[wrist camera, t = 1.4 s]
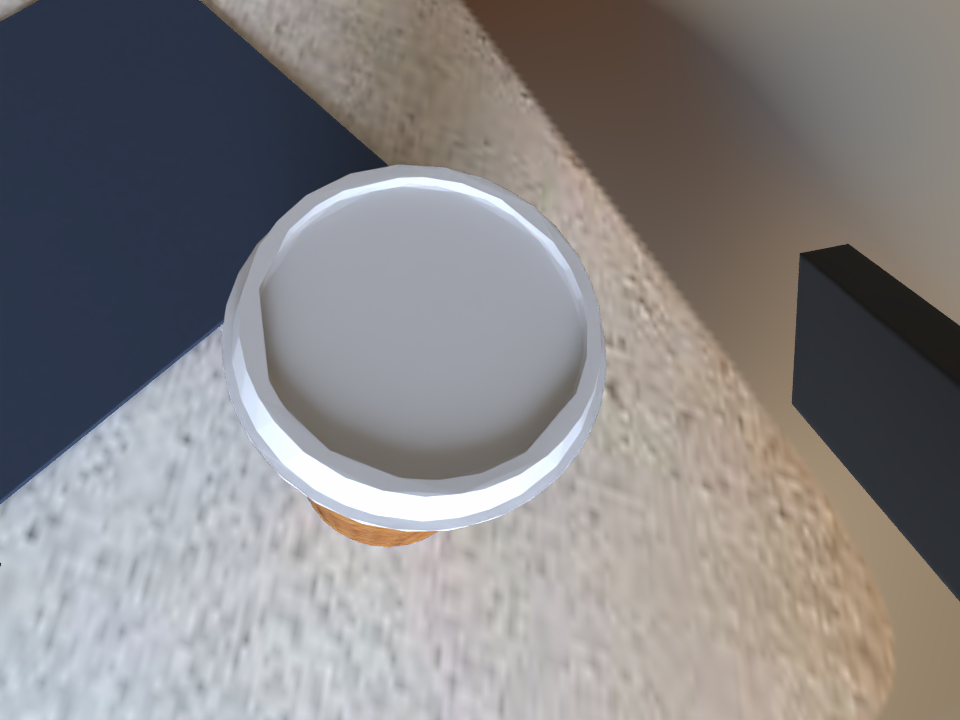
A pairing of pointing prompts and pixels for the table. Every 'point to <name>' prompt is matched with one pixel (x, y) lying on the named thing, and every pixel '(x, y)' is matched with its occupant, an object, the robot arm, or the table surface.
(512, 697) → the table surface
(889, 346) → the robot arm
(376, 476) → the disposable coffee cup
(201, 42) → the mat
